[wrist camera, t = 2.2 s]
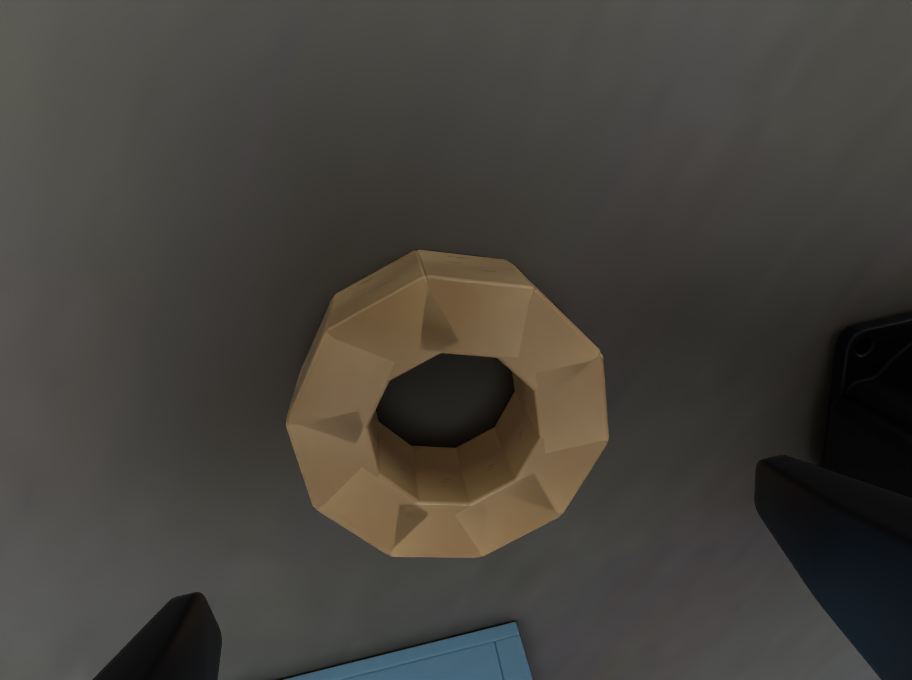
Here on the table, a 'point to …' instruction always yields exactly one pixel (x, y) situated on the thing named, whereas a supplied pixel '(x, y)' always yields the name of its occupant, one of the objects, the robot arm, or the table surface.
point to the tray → (443, 660)
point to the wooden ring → (441, 468)
